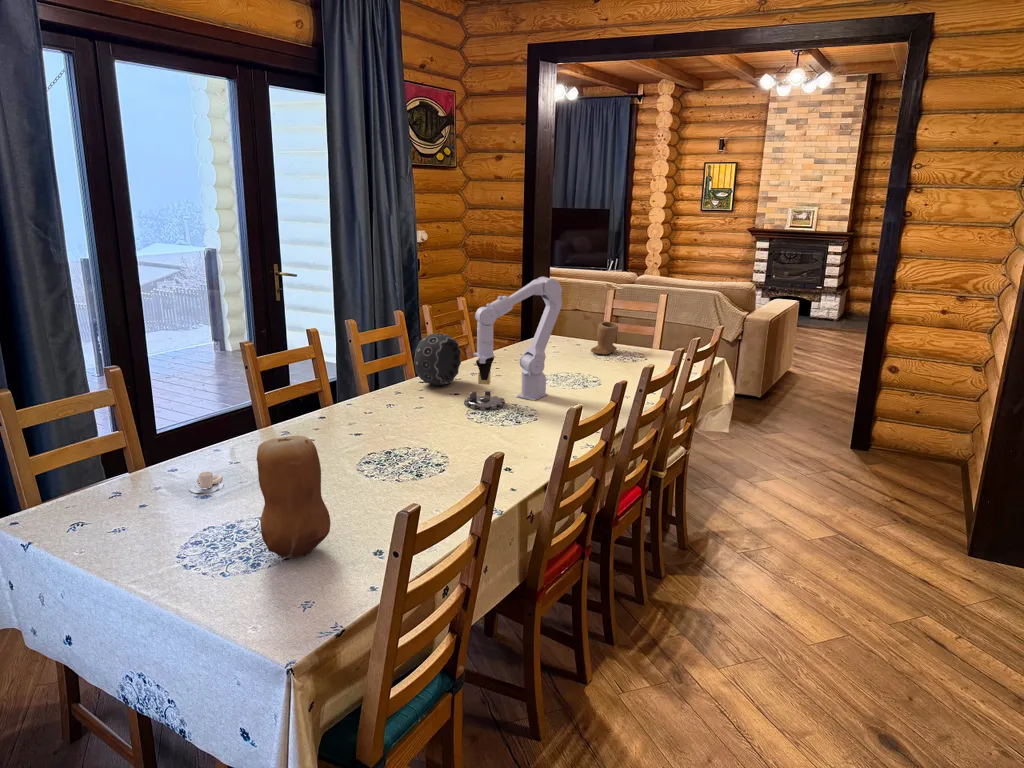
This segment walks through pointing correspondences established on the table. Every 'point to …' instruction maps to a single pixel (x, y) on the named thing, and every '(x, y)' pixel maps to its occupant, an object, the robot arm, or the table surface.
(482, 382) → the link block
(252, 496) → the table surface
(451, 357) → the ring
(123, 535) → the table surface
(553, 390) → the table surface
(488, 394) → the block
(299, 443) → the butternut squash
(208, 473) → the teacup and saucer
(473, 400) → the sprocket
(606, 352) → the stone cup
